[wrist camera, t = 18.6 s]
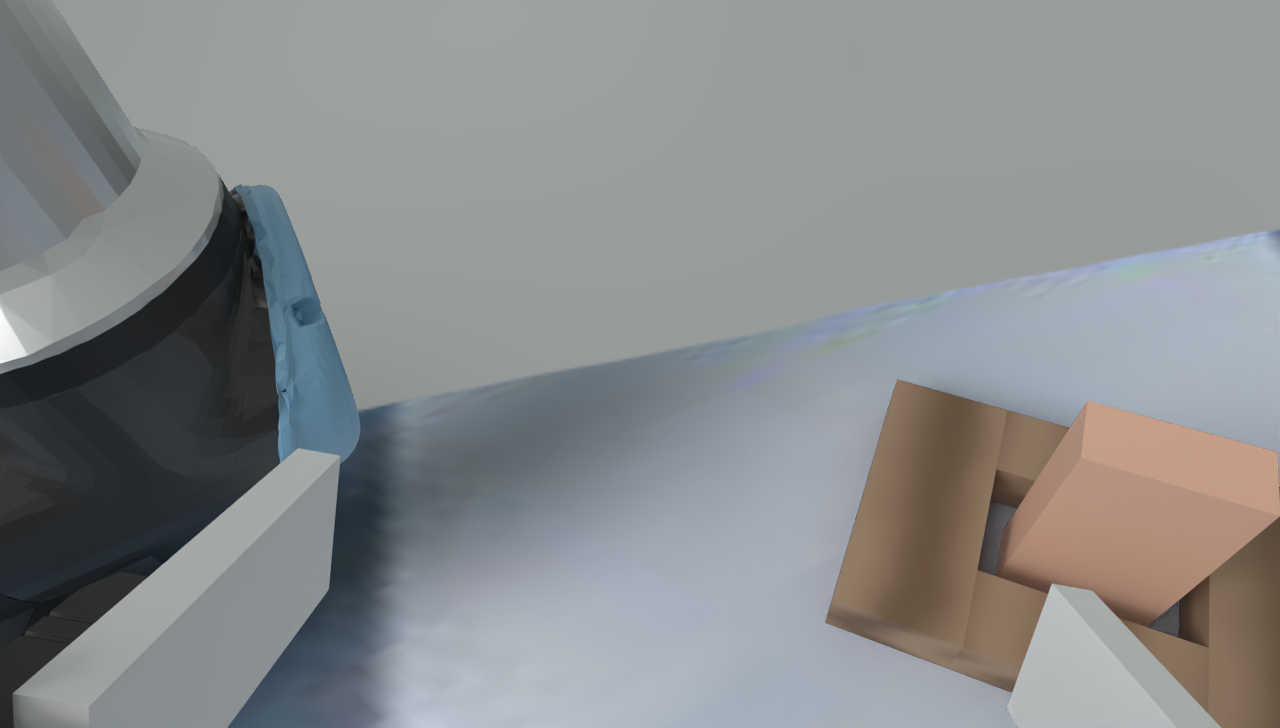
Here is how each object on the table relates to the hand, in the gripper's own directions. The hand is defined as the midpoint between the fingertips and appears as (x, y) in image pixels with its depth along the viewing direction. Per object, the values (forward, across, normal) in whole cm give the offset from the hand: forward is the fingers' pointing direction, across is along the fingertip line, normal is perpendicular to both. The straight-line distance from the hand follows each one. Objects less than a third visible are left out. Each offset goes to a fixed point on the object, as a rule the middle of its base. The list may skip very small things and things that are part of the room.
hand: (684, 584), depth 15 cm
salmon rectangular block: (+25, +23, -10) cm, 35 cm away
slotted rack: (+25, +23, -10) cm, 35 cm away
